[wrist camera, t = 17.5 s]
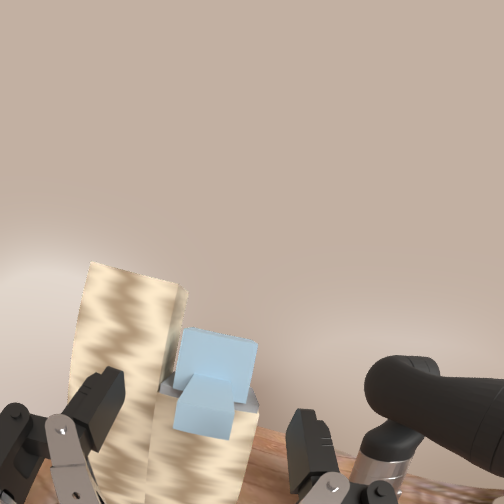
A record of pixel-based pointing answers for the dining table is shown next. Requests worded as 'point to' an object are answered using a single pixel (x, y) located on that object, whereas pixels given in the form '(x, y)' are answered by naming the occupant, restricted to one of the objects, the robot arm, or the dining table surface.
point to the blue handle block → (211, 381)
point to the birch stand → (151, 397)
